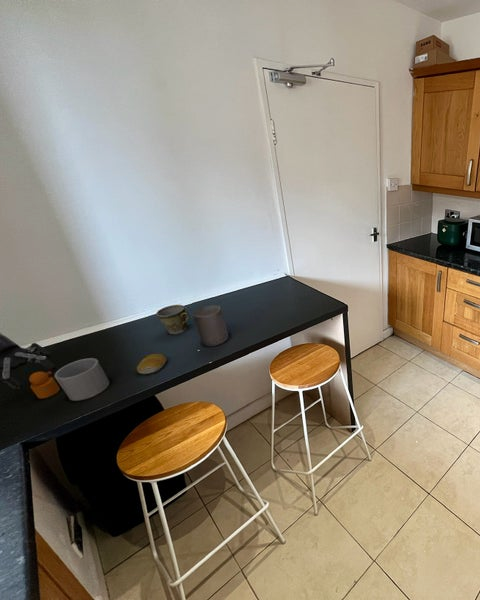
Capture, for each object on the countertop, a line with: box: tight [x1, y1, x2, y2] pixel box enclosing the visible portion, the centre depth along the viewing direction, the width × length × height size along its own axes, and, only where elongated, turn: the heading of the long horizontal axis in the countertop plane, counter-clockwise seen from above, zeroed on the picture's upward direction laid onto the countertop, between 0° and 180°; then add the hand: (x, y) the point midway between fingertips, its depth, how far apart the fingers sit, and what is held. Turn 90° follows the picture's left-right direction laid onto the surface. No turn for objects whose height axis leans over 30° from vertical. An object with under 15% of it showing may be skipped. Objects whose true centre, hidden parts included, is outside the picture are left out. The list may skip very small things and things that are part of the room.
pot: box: [54, 357, 110, 402], centre depth 102 cm, size 10×10×9 cm
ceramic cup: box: [156, 304, 191, 335], centre depth 134 cm, size 13×10×10 cm
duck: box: [28, 370, 61, 399], centre depth 101 cm, size 6×5×8 cm
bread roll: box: [136, 353, 168, 375], centre depth 114 cm, size 8×9×4 cm
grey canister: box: [192, 304, 230, 347], centre depth 126 cm, size 10×10×15 cm
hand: (38, 377), depth 100 cm, fingers open, 8 cm apart
